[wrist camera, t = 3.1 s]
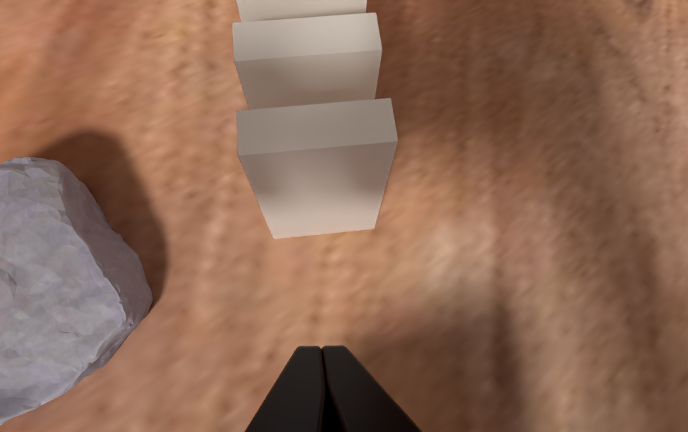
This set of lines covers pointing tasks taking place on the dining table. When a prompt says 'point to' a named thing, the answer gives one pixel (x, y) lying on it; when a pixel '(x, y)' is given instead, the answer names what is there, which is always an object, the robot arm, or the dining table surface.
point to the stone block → (59, 285)
